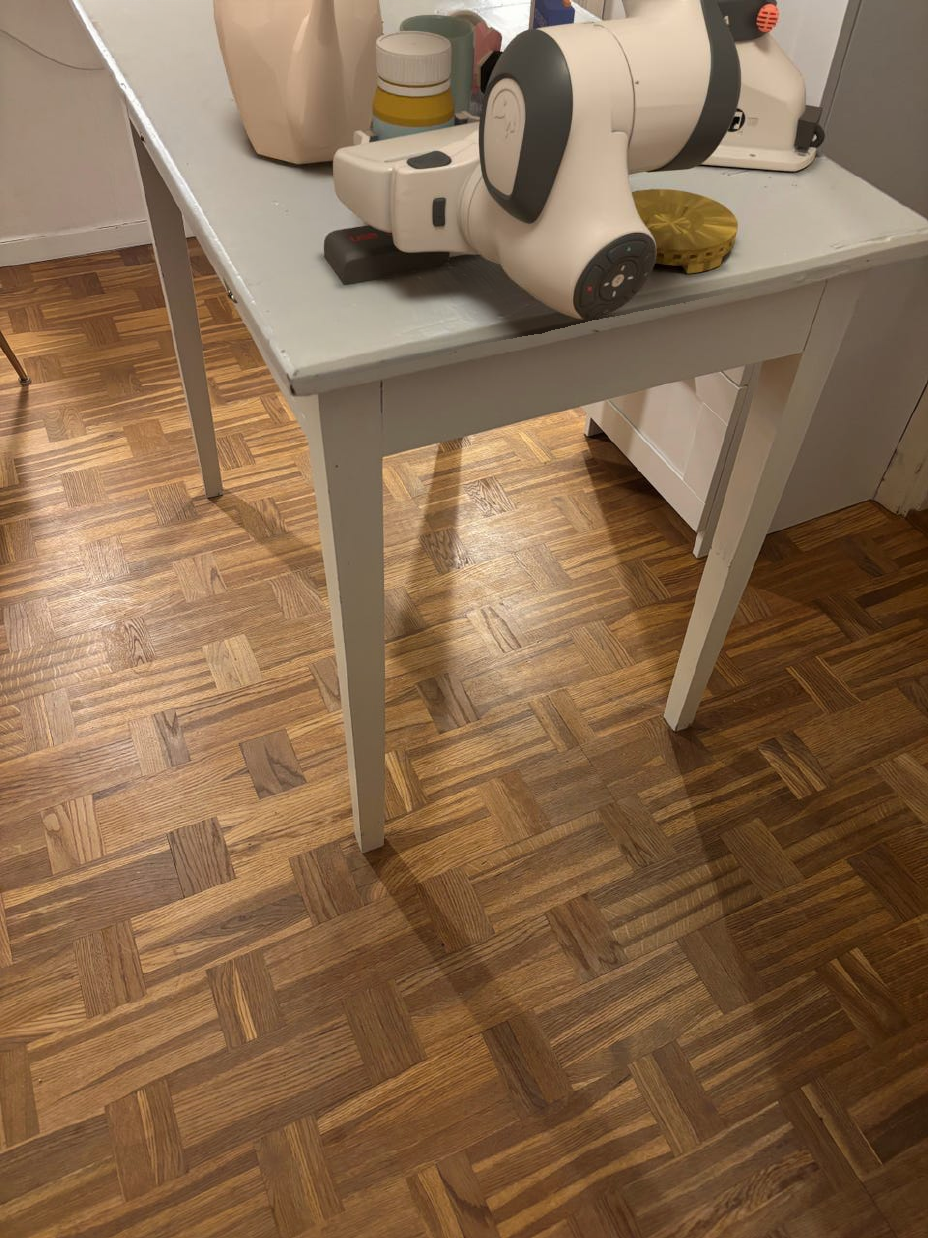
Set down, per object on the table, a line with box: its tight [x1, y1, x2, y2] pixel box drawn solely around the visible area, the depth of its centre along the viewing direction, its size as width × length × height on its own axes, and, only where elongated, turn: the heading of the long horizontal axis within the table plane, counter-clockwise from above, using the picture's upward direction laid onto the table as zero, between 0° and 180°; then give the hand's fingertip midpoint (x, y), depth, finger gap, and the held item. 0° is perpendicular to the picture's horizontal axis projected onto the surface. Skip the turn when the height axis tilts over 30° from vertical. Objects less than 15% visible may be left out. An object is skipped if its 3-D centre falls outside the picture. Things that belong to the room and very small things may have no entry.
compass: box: [631, 188, 739, 274], centre depth 87 cm, size 12×12×2 cm
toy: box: [445, 8, 503, 96], centre depth 107 cm, size 8×7×15 cm
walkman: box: [528, 0, 576, 29], centre depth 102 cm, size 8×3×12 cm, turn 11°
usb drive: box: [323, 224, 465, 285], centre depth 82 cm, size 5×12×3 cm, turn 114°
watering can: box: [212, 0, 384, 165], centre depth 91 cm, size 16×27×19 cm, turn 19°
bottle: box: [372, 30, 455, 141], centre depth 82 cm, size 7×7×15 cm
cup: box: [398, 14, 475, 113], centre depth 100 cm, size 8×8×10 cm
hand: (409, 129), depth 83 cm, fingers open, 8 cm apart
